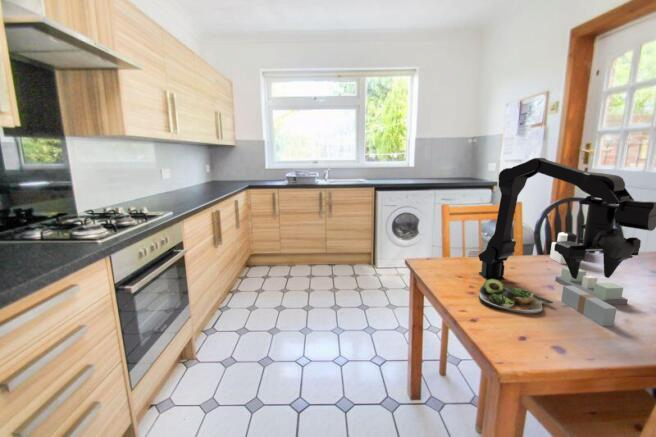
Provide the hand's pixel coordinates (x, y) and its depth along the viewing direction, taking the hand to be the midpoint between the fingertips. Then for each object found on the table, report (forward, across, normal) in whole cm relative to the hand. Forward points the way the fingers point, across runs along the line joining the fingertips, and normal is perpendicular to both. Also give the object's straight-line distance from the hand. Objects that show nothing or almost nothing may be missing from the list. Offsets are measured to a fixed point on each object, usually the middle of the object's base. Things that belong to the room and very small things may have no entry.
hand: (590, 277), depth 85 cm
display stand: (+10, +12, +13) cm, 20 cm away
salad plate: (+11, -17, +9) cm, 22 cm away
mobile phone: (+11, +38, +46) cm, 61 cm away
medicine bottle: (+11, +26, +41) cm, 50 cm away
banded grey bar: (+10, 0, 0) cm, 10 cm away
